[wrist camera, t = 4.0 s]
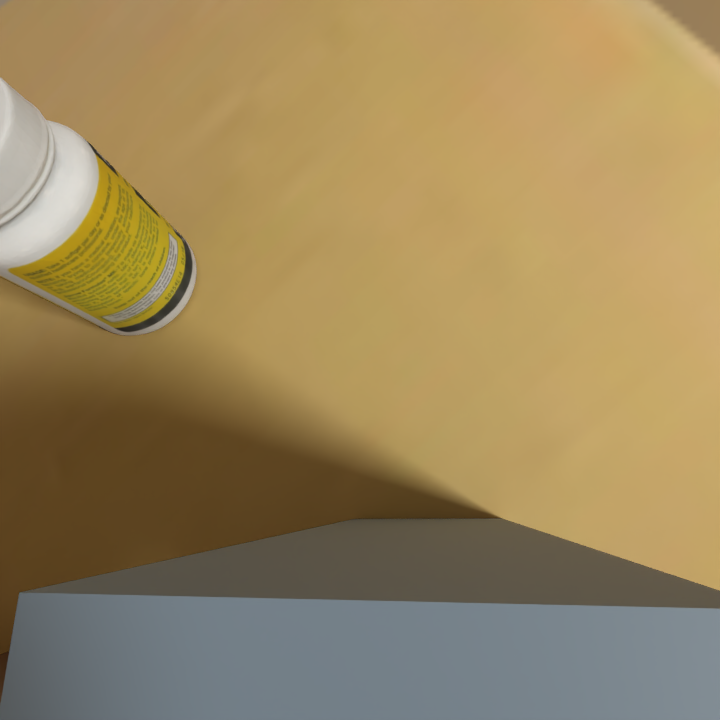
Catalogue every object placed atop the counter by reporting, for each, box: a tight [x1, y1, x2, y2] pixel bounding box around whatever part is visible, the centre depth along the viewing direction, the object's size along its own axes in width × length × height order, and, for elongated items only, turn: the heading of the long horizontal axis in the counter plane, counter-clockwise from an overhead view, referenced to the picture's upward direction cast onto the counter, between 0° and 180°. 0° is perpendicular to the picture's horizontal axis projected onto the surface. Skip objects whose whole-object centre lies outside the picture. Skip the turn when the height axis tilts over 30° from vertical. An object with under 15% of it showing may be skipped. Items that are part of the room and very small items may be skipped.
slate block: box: [0, 518, 720, 720], centre depth 8 cm, size 5×5×13 cm
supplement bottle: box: [0, 77, 196, 335], centre depth 15 cm, size 5×5×8 cm
